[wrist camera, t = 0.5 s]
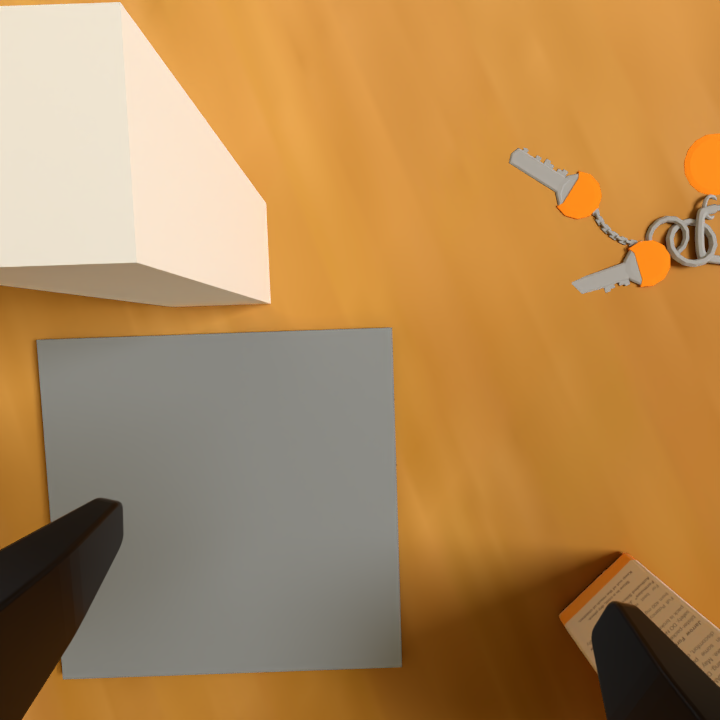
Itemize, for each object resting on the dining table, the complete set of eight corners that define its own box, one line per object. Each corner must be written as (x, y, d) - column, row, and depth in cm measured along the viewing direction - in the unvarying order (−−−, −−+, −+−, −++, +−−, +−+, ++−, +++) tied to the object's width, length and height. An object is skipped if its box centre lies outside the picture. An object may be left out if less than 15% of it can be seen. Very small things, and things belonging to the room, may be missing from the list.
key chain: (785, 127, 21) (803, 119, 21) (784, 289, 22) (801, 287, 21) (505, 141, 21) (511, 133, 21) (510, 302, 22) (516, 302, 21)
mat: (401, 661, 23) (401, 667, 22) (68, 673, 22) (62, 679, 22) (391, 327, 22) (391, 327, 21) (42, 339, 21) (36, 340, 21)
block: (270, 303, 21) (137, 262, 8) (172, 307, 21) (-112, 270, 8) (266, 203, 21) (120, 2, 8) (166, 206, 21) (-138, 10, 8)
